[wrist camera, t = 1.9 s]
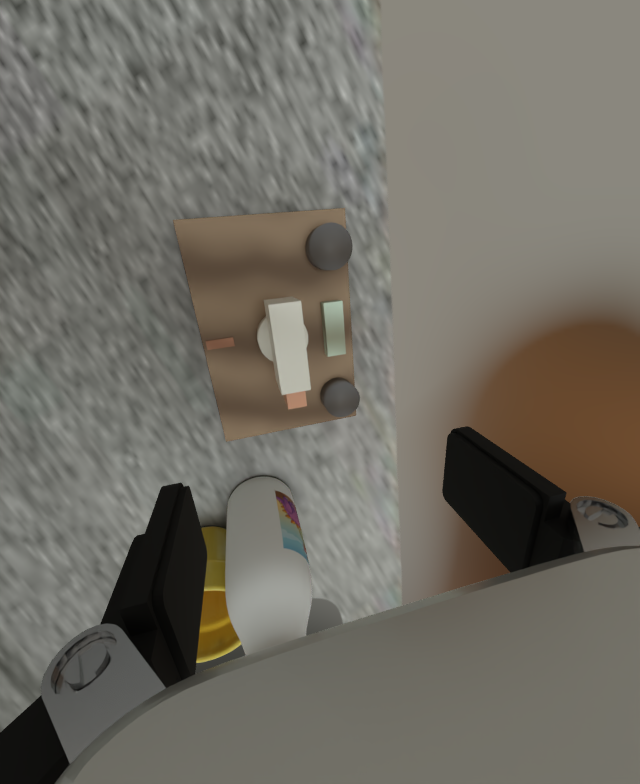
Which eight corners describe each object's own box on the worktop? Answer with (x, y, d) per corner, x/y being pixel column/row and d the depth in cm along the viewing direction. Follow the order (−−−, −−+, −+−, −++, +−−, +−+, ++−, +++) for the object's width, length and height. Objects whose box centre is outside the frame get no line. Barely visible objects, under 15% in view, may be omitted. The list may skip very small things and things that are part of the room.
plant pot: (266, 553, 41) (274, 631, 32) (192, 590, 41) (180, 680, 32) (229, 498, 37) (227, 571, 28) (145, 538, 36) (116, 626, 27)
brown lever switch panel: (177, 223, 26) (167, 216, 23) (338, 211, 29) (352, 203, 25) (226, 432, 34) (225, 451, 30) (350, 408, 37) (362, 423, 33)
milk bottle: (226, 529, 38) (219, 761, 20) (227, 475, 36) (219, 686, 18) (289, 523, 40) (333, 729, 22) (294, 472, 38) (348, 658, 20)
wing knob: (250, 299, 28) (253, 306, 22) (299, 293, 28) (314, 299, 23) (265, 389, 31) (272, 415, 26) (309, 381, 32) (324, 405, 26)
